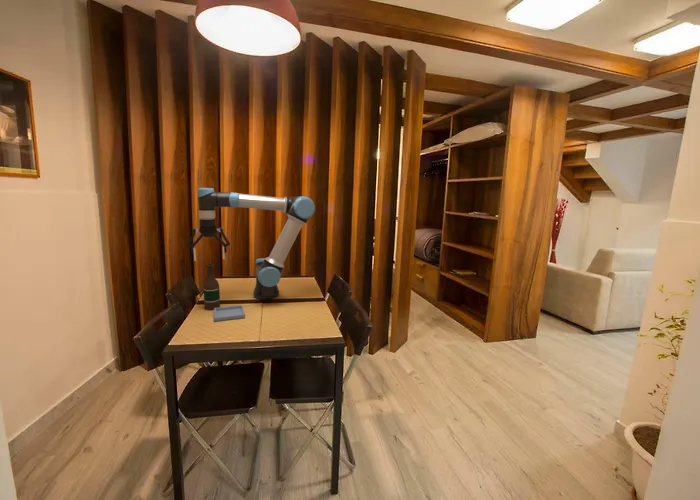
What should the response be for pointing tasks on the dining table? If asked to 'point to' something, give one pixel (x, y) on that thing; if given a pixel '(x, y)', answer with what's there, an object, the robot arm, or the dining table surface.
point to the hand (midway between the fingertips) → (209, 259)
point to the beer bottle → (211, 290)
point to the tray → (229, 313)
